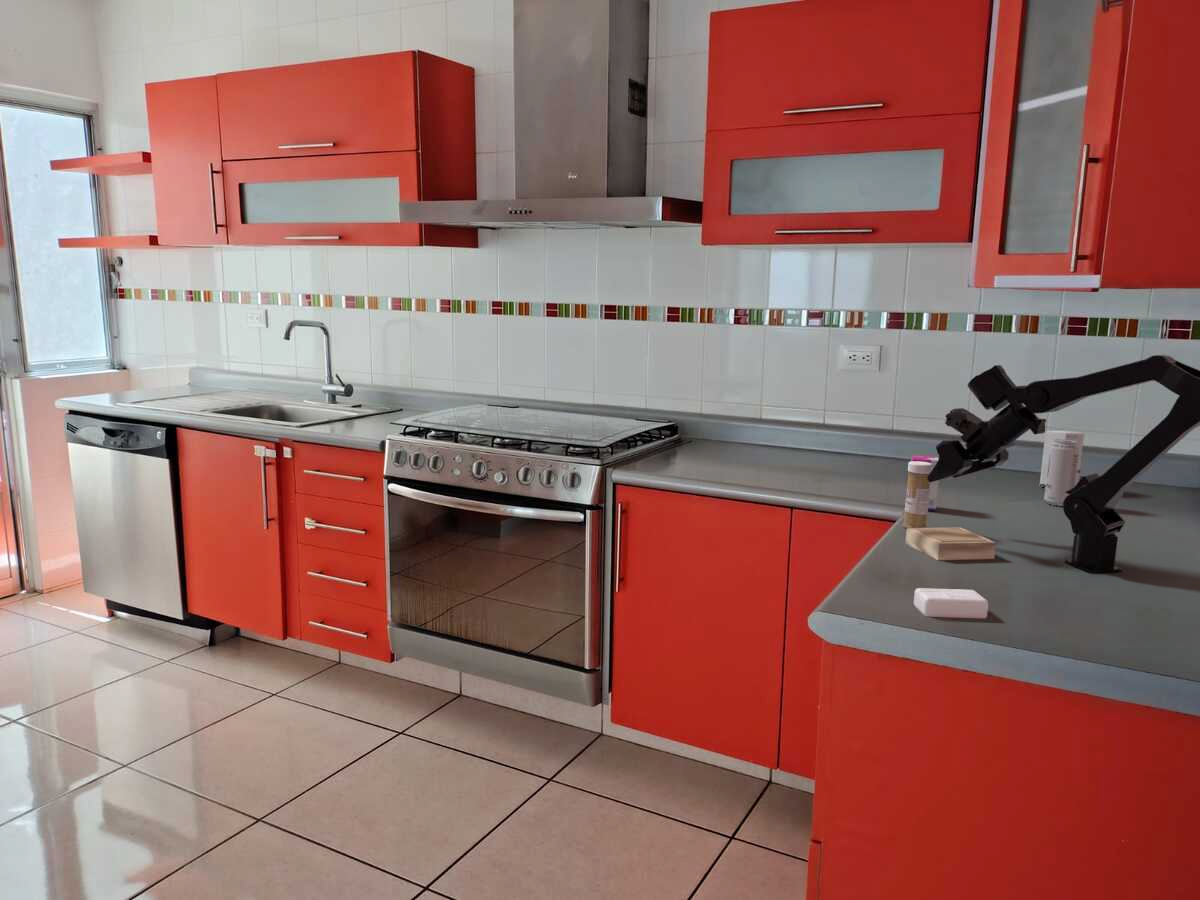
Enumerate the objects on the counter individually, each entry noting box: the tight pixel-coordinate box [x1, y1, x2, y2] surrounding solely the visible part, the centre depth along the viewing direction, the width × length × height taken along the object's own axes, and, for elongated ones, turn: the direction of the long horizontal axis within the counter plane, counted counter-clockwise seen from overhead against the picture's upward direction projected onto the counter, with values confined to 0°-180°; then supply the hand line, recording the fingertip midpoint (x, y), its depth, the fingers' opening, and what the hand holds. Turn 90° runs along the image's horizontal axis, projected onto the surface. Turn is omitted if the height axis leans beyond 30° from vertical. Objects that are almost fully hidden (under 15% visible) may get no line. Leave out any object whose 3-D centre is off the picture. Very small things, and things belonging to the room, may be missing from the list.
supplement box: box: [910, 455, 940, 512], centre depth 199 cm, size 6×6×12 cm
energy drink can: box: [1043, 439, 1079, 504], centre depth 207 cm, size 6×6×15 cm
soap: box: [913, 587, 989, 620], centre depth 129 cm, size 9×6×3 cm, turn 89°
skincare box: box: [1039, 430, 1085, 485], centre depth 227 cm, size 8×6×15 cm
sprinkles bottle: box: [902, 460, 932, 529], centre depth 179 cm, size 5×5×14 cm
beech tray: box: [904, 526, 997, 561], centre depth 162 cm, size 11×11×3 cm
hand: (940, 478), depth 175 cm, fingers open, 9 cm apart
